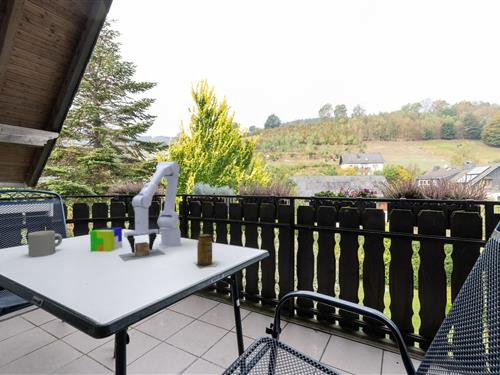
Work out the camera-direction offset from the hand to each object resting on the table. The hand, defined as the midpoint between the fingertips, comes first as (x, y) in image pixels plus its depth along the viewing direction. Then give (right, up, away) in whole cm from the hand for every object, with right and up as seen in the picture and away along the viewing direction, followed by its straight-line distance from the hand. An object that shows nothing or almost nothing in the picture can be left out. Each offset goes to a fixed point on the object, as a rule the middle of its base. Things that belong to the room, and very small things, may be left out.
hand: (142, 250), depth 124 cm
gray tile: (0, -2, 0) cm, 2 cm away
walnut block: (0, -2, 0) cm, 2 cm away
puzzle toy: (-22, -2, +11) cm, 25 cm away
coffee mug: (-47, -2, +4) cm, 47 cm away
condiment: (+31, -3, -13) cm, 34 cm away
